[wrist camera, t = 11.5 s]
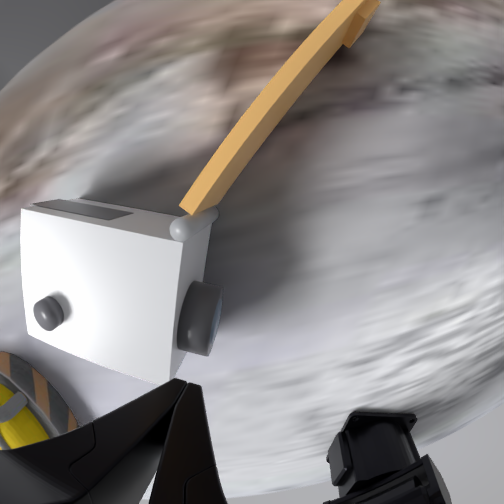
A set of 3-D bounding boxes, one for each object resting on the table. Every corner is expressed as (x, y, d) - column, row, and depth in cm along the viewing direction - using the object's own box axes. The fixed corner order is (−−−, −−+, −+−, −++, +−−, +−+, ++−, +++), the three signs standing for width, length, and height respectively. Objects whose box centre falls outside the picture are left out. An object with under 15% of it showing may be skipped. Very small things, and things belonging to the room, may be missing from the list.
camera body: (239, 227, 19) (218, 254, 12) (219, 342, 21) (196, 405, 14) (73, 197, 19) (6, 208, 13) (70, 299, 21) (16, 336, 15)
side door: (213, 226, 19) (185, 247, 13) (197, 214, 19) (162, 230, 13) (358, 39, 15) (385, -6, 9) (342, 28, 15) (363, -21, 9)
